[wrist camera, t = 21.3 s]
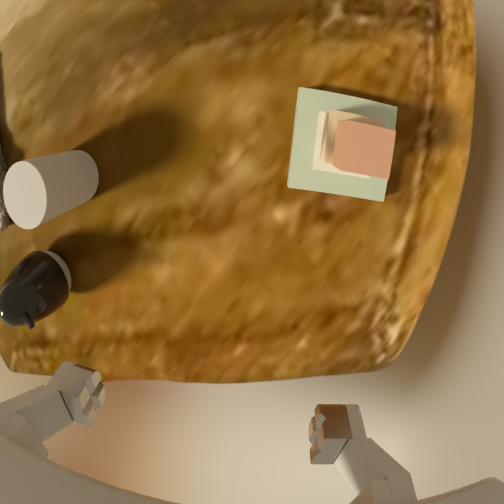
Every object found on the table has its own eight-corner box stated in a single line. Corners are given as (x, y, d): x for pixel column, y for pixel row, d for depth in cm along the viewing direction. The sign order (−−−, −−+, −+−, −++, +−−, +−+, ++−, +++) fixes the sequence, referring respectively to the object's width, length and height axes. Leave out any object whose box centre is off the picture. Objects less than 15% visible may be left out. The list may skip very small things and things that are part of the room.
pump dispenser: (81, 305, 47) (34, 358, 33) (37, 286, 46) (-12, 329, 32) (81, 252, 43) (23, 300, 29) (35, 235, 43) (-25, 273, 28)
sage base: (297, 90, 33) (299, 86, 31) (390, 108, 33) (397, 107, 31) (287, 184, 38) (288, 187, 35) (377, 197, 37) (383, 201, 35)
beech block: (325, 113, 32) (333, 109, 27) (370, 121, 32) (385, 120, 27) (319, 159, 34) (327, 163, 29) (364, 166, 34) (378, 172, 29)
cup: (74, 138, 36) (18, 147, 25) (108, 174, 38) (56, 192, 27) (49, 180, 39) (-4, 199, 28) (80, 214, 41) (31, 242, 30)
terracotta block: (337, 121, 28) (348, 120, 23) (379, 130, 27) (396, 130, 23) (331, 165, 29) (341, 170, 25) (373, 172, 29) (388, 179, 25)
